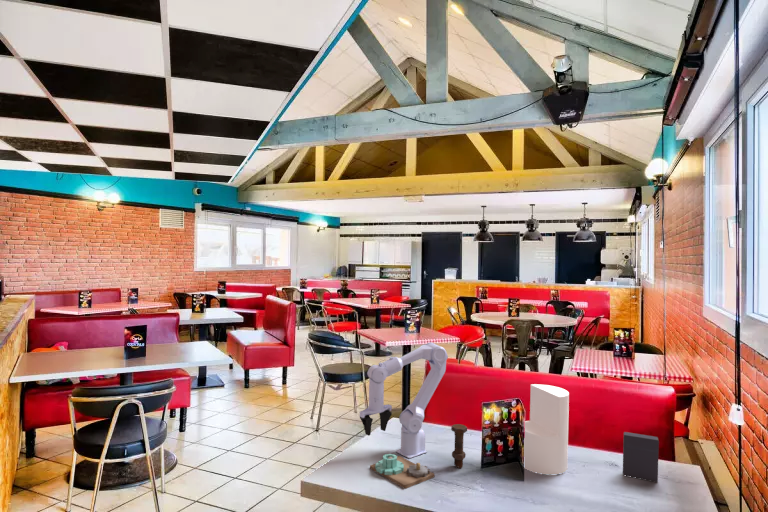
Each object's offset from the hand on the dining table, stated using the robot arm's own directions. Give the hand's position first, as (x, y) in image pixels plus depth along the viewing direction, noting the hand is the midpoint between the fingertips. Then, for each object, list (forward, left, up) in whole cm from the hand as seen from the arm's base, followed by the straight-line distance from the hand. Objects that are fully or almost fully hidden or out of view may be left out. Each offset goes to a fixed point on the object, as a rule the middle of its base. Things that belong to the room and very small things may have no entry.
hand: (375, 432), depth 186 cm
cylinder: (-46, +43, -10) cm, 64 cm away
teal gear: (+4, +13, -8) cm, 16 cm away
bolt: (-19, +25, -10) cm, 33 cm away
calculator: (-65, +70, -10) cm, 96 cm away
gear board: (+1, +16, -10) cm, 19 cm away
